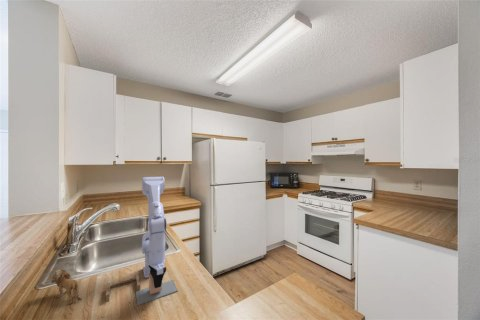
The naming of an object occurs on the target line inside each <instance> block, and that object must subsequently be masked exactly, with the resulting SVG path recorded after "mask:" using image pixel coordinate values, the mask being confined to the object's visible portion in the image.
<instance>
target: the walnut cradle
mask: <svg viewBox="0 0 480 320" xmlns="http://www.w3.org/2000/svg"><path fill="white" fill-rule="evenodd" d="M133 282H135V285H136V286H135V287H136V291H139V290H141V283H140V282H141V281H140V276H139V274H137V275H136V274H135V278H132V279H130V280H126V281H121V282H119V283H114V284H112V285H111V282H108V283H106V292H105V293H106V294H105V303H108V302H110V296H111V289H113V288H116V287H117V288H118V287H120V286H124V285H127V284H131V283H133Z"/></svg>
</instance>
